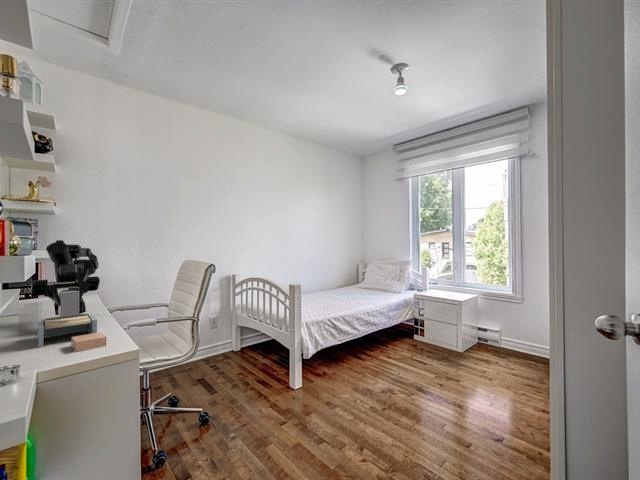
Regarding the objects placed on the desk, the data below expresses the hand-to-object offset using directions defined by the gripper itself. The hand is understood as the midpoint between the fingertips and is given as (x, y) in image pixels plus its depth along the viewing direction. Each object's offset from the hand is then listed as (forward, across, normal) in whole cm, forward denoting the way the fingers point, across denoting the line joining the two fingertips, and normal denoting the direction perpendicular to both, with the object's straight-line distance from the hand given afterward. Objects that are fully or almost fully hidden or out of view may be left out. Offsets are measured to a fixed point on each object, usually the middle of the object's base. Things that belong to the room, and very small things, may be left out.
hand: (69, 304), depth 104 cm
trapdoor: (+2, 0, +9) cm, 9 cm away
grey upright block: (+2, 0, +4) cm, 4 cm away
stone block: (+17, +4, +1) cm, 18 cm away
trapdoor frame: (+5, 0, +13) cm, 14 cm away
